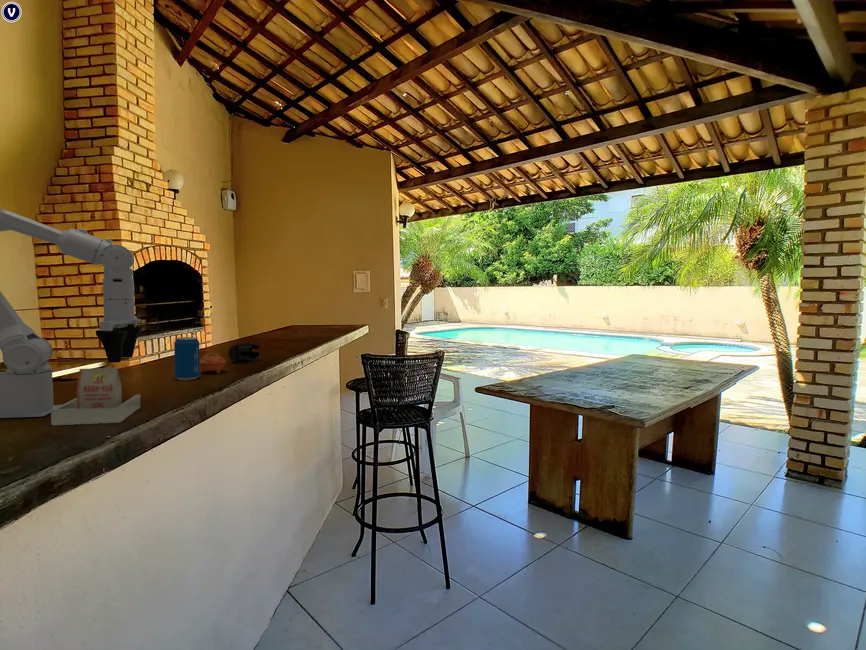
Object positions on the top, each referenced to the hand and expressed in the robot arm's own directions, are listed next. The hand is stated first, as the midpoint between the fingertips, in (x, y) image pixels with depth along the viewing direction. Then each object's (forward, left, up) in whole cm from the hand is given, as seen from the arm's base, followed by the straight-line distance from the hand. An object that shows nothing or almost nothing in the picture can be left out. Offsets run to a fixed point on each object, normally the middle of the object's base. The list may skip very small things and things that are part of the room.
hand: (121, 359), depth 104 cm
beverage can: (+7, +30, -11) cm, 33 cm away
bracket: (-1, -8, -11) cm, 13 cm away
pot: (+12, +39, -11) cm, 42 cm away
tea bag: (-1, -8, -11) cm, 13 cm away
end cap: (+19, +60, -11) cm, 64 cm away
